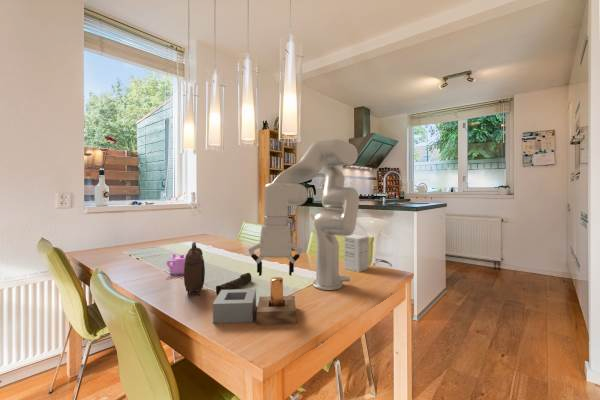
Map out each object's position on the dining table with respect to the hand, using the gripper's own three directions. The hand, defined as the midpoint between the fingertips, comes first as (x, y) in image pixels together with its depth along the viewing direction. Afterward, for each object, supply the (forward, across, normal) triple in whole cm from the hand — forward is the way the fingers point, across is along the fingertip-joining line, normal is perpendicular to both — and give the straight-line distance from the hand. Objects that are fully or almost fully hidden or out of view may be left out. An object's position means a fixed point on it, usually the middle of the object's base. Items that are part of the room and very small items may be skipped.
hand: (275, 274), depth 90 cm
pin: (+14, -1, -1) cm, 14 cm away
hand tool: (+14, +17, -28) cm, 36 cm away
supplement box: (+12, -41, -52) cm, 67 cm away
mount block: (+14, -1, -1) cm, 14 cm away
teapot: (+14, +47, -52) cm, 72 cm away
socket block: (+14, +13, -3) cm, 19 cm away
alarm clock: (+14, +32, -24) cm, 43 cm away
